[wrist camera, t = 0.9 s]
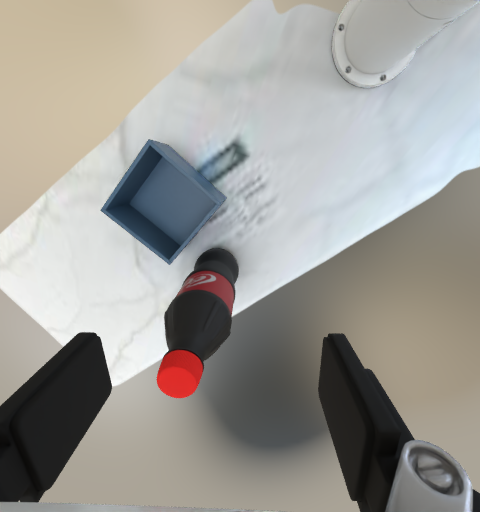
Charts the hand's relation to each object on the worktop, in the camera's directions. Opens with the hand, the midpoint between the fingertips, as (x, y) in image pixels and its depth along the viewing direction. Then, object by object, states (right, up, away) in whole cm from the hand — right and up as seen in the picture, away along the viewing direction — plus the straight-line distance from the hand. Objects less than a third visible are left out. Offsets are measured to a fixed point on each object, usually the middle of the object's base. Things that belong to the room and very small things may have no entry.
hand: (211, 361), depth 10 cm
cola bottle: (-3, +3, +40) cm, 41 cm away
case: (-11, +15, +36) cm, 41 cm away
